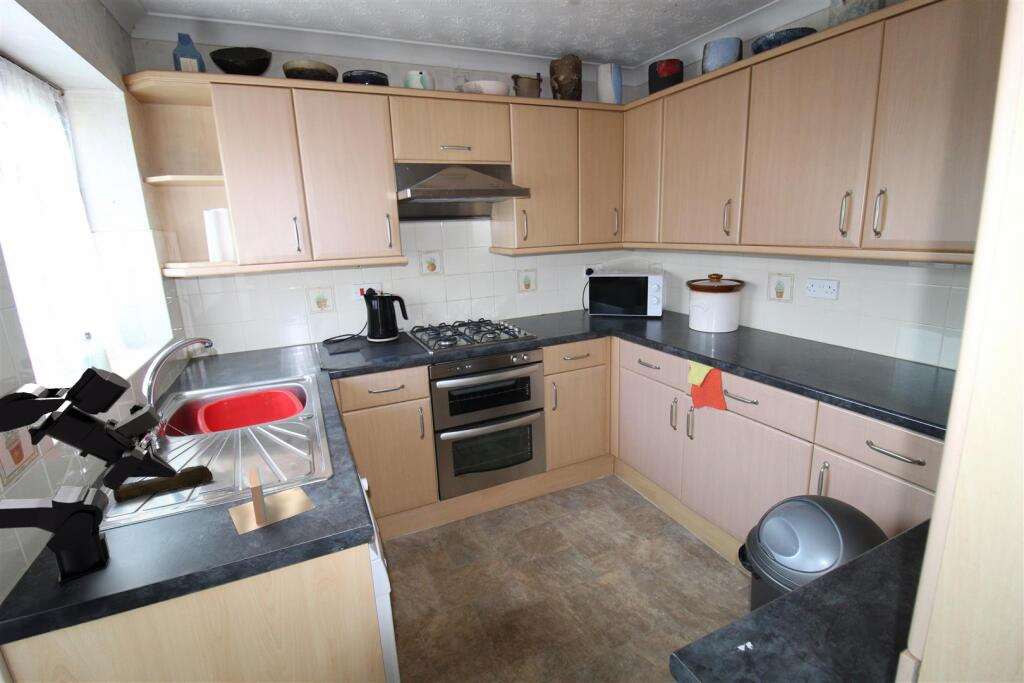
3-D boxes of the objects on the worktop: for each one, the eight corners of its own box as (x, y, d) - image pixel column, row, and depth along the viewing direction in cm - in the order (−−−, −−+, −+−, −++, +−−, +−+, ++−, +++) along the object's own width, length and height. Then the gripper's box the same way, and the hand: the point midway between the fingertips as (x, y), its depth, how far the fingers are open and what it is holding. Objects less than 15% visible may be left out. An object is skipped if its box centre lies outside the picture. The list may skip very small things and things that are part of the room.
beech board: (240, 540, 96) (239, 534, 96) (228, 514, 105) (228, 509, 105) (316, 512, 105) (315, 507, 104) (300, 490, 114) (299, 486, 114)
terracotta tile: (256, 524, 99) (250, 487, 97) (253, 503, 107) (247, 469, 105) (267, 521, 100) (261, 485, 98) (263, 501, 108) (258, 467, 106)
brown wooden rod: (113, 506, 110) (109, 487, 109) (119, 497, 114) (114, 479, 113) (211, 486, 118) (208, 469, 117) (213, 479, 121) (210, 461, 120)
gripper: (113, 411, 80) (204, 457, 88) (129, 383, 96) (205, 424, 104) (60, 469, 78) (158, 511, 86) (86, 430, 94) (167, 468, 102)
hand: (175, 474), depth 94 cm, fingers closed
